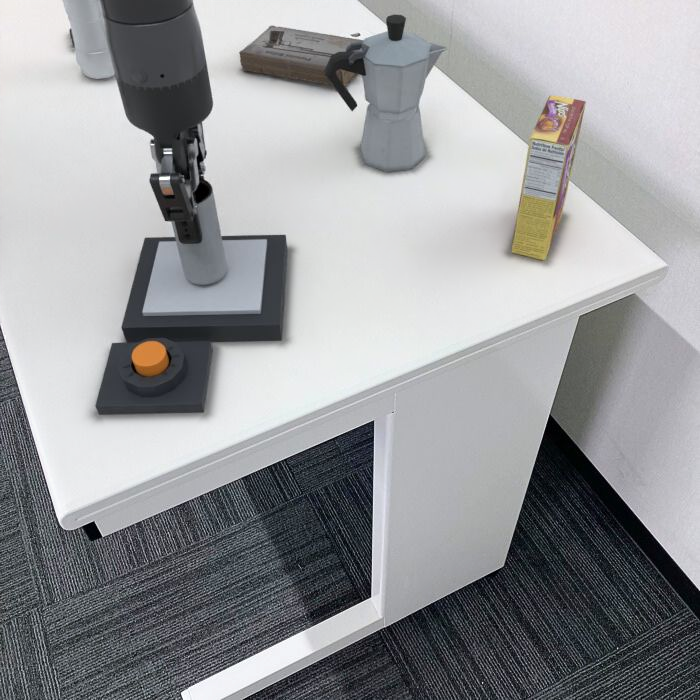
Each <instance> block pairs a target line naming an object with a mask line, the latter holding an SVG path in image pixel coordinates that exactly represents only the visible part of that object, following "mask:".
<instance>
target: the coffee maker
mask: <svg viewBox="0 0 700 700" xmlns="http://www.w3.org/2000/svg"><path fill="white" fill-rule="evenodd" d="M406 22H407V17H405V16H404V15H403V14H394V13H393V14H390V15H388V16H387V17H386V19H385V23H386V29H387V31H384V32H381V33H377V34H373V35H370V36H368V37H365V38H364V39H363V40H364V41H363V43H361V42H356V43H351V44H350V45H349V46H348V47H347V48H346V52H337V53H335V54H333V55H331V57H330V59H329V61H328V64H327V66H326V68H325V70H324V73H325V75H326V77H327V78H328V79H329V81H330V82H331V84H332V85H331V84H330V85H331V86H333V88H334V89H335V91H336V92H337V93H338V95H339V96H340V97H341V99H342V100H343V102H344V103H345V104H346V106H347V107H348V109H349V110H350V112H353V111H354V110H355V109H357V107H358V103H357V101H356V100H355V98H354V97H353V95H352V94H351V93H350V91H349V90H348V88H347V87H346V85H345V86H344V85H343V83H342V82H341V80H340V79H339V78H338V76H337V75H336V72H337V70H345V71H348V72H352V73H356V75H359V76H361V77H362V84H363V91H364V99H365V101H366V102H367V103H369V104H367V106H366V113H365V119H364V124H363V131H362V135H361V142H360V147H359V150H360V154H361V157H362V160H363V164H364V165H366V166H369V167H371V168H374V169H376V170H379V171H381V172H384V173H391V172H392V173H393V172H400V171H410V170H413V169H414V168H415V167H416V166H417V165H418V164H419V163H420V162H421V161H422V160H423V159H425V157H426V153H425V144H424V143H425V142H424V135H423V125H422V115H421V110H420V101H421V100H420V99H421V97H422V96H423V92H424V88H425V84H426V80H427V78H428V76H429V75H430V73H431V71H432V69H433V68H434V66H435V65H436V63H437V61H438V59H440V56H441V55H442V53H443V52H445V51H447V50H448V47H447V46H443V45H439V44H437V43H432V42H429V41H428V40H425V39H424V38H422V37H421V36H420V35H418V34H417V33H415V32H414V33H413V32H404V30H405V26H406ZM355 50H359V51H355Z"/></svg>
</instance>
